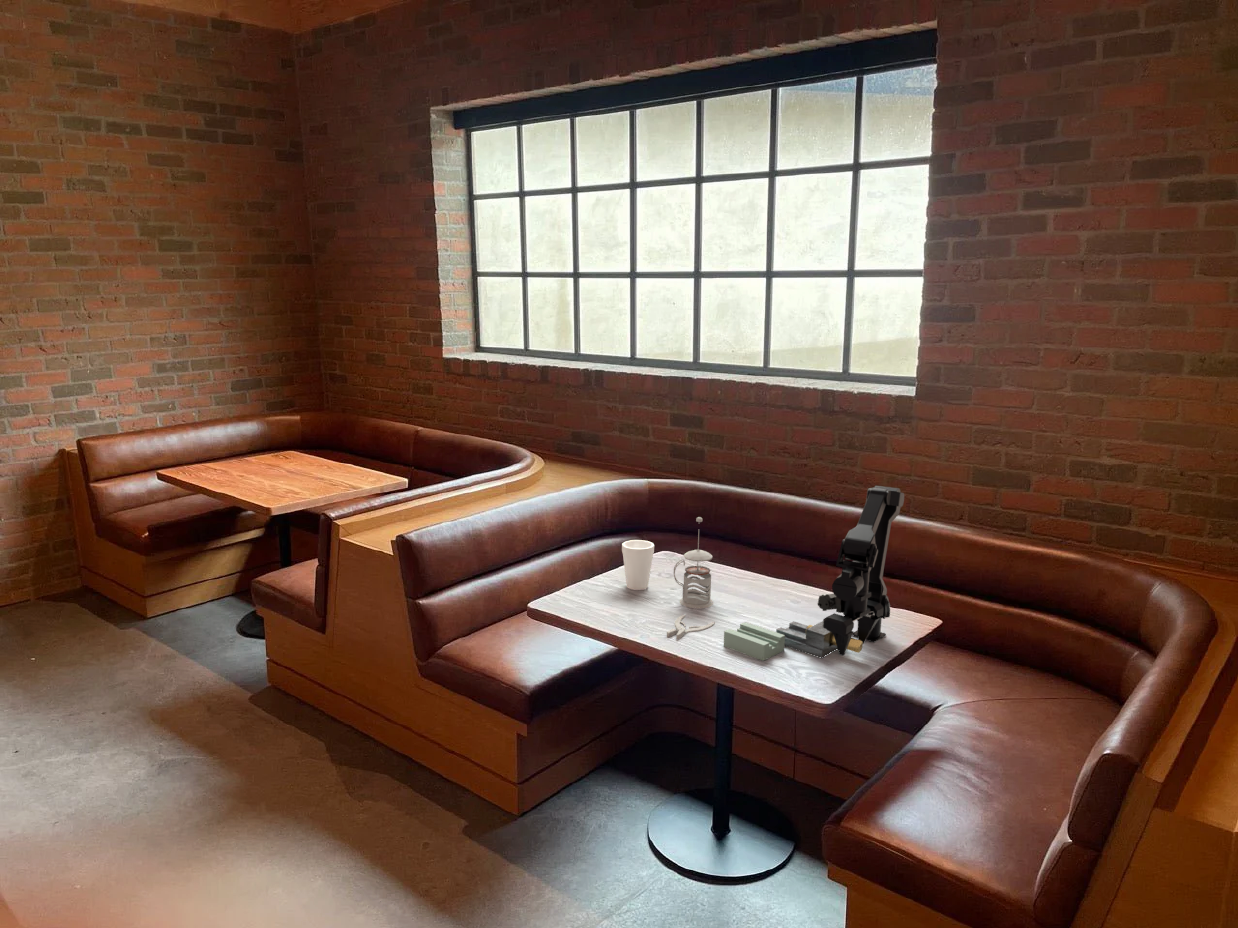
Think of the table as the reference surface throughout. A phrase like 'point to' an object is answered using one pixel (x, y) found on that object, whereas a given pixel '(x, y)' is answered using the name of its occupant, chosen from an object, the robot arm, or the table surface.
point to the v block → (754, 641)
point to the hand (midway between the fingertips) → (851, 649)
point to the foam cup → (637, 563)
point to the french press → (696, 579)
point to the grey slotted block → (808, 638)
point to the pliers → (681, 630)
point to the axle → (853, 644)
